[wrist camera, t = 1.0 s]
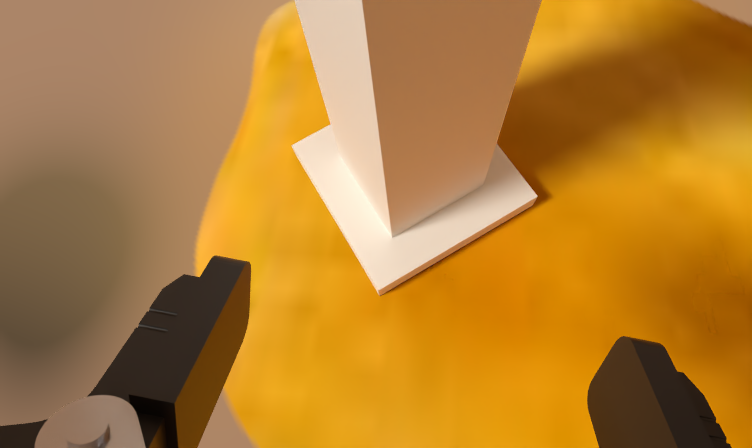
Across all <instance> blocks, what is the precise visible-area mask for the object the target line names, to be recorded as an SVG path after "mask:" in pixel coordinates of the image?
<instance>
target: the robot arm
mask: <svg viewBox="0 0 752 448" xmlns="http://www.w3.org/2000/svg"><path fill="white" fill-rule="evenodd" d="M250 281H251V264H250V262H247V261H242V260H237V259H231V258H226V257H221V256H213V257H212V258H211V260H210V261H209V263H208V265H207V266H206V268H205V270H204V271H203V273H202V275H201V276H200V277H195V276H190V275H185V274H184V275H183V276H181V277H179V278H178V279H176V280H175V281H173V282H172V283H170V284H169V285H168V286H166V287H165V288H163V289H162V291H161V292H160V294H159V295H158V297H157V298H156V300H155V301H154V302H153V304H152V305H151V307H150V310H149V312H146V314H145V315H144V317H143V318H142V320H141V321H140V323H139V326H138V328H136V329H135V330H134V332H133V333H132V334H131V336H130V337H129V339H128V340H127V342H126V343H125V345H124V346H123V348H122V349H121V350H120V352H119V353H118V355H117V356H116V358H115V359H114V361H113V362H112V364H111V365H110V367H109V368H108V369H107V371H106V372H105V374H104V375H103V377H102V378H101V380H100V381H99V383H98V384H97V386H96V387H95V388H94V389H93V391H92V392H91V393H90V394H89V395H88V396H87V397H85V398H81V399H79V400H76V401H73V402H71V403H69V404H67V405H65V406H64V407H63V408H61V409H59V410H58V411H57V412H56V413H54V414H53V415H52V416H51V417H50V418H49V419H47V420H43V421H39V422H34V423H26V424H17V425H7V426H0V448H197V447H198V445H199V442H200V440H201V438H202V435H203V433H204V430H205V428H206V426H207V423H208V421H209V419H210V416H211V414H212V412H213V410H214V407H215V405H216V403H217V400H218V398H219V396H220V393H221V391H222V389H223V386H224V384H225V382H226V379H227V377H228V375H229V372H230V370H231V368H232V365H233V363H234V361H235V358H236V356H237V354H238V351H239V349H240V347H241V344H242V342H243V339H244V336H245V333H246V329H247V325H248V319H249V307H250ZM587 402H588V410H589V414H590V417H591V421H592V424H593V427H594V431H595V434H596V438H597V441H598V445H599V448H731V446H730V444H728V443H726V439H727V438H726V436H725V434H724V433H723V431H722V429H721V427H720V425H719V424H718V423H716V417H715V416H714V414H713V412H712V410H711V408H710V406H709V404H708V402H707V400H706V399H705V397H704V395H703V394H702V393H701V392H700V391H699V389H698V388H697V387H696V386H695V385H694V384H693V383H692V382H691V381H690V380H689V379H688V377H687V376H686V375H685V374H684V373H682V372H677V371H676V369H675V367H674V365H673V363H672V361H671V359H670V357H669V355H668V353H667V351H666V349H665V347H664V346H663V345H661V344H660V343H656V342H651V341H646V340H641V339H636V338H631V337H625V336H623V337H620V338H619V339H618V340H617V341H616V342H615V344H614V345H613V347H612V349H611V350H610V352H609V353H608V355H607V357H606V358H605V360H604V361H603V363H602V365H601V366H600V368H599V370H598V371H597V373H596V374H595V376H594V378H593V379H592V381H591V383H590V386H589V390H588V398H587Z"/></svg>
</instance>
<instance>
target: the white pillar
mask: <svg viewBox="0 0 752 448" xmlns="http://www.w3.org/2000/svg"><path fill="white" fill-rule="evenodd" d="M295 4H296V7H297V10H298V14H299V17H300V21H301V24H302V28H303V31H304V34H305V38H306V41H307V45H308V48H309V51H310V55H311V58H312V62H313V65H314V69H315V72H316V75H317V79H318V82H319V86H320V89H321V92H322V96H323V99H324V103H325V106H326V110H327V113H328V116H329V120H330V123H331V124H330V125H329V126H327V127H325V128H323V129H321V130H319V131H317V132H316V133H314V134H312V135H310V136H308V137H306V138H305V139H303V140H301V141H299V142H297V143H295V144H293V145H292V147H293V150H294V152H295V154H296V156H297V158H298V159H299V161H300V163H301V164H302V166H303V168H304V169H305V171H306V173H307V174H308V176H309V178H310V180H311V181H312V183H313V185H314V186H315V188H316V190H317V191H318V193H319V195H320V196H321V198H322V200H323V201H324V203H325V205H326V206H327V208H328V210H329V211H330V213H331V215H332V216H333V218H334V220H335V221H336V223H337V225H338V227H339V228H340V230H341V232H342V233H343V235H344V237H345V238H346V240H347V242H348V243H349V245H350V247H351V248H352V250H353V252H354V253H355V255H356V257H357V258H358V260H359V262H360V263H361V265H362V267H363V269H364V270H365V272H366V274H367V275H368V277H369V279H370V280H371V282H372V284H373V285H374V287H375V289H376V290H377V292H378V294H379V295H380V296H381V295H382V294H384V293H386V292H387V291H389V290H391V289H392V288H394V287H396V286H397V285H399V284H401V283H402V282H404V281H406V280H408V279H409V278H411V277H413V276H414V275H416V274H418V273H419V272H421V271H423V270H424V269H426V268H428V267H430V266H431V265H433V264H435V263H436V262H438V261H440V260H441V259H443V258H445V257H446V256H448V255H450V254H451V253H453V252H455V251H457V250H458V249H460V248H462V247H463V246H465V245H467V244H468V243H470V242H472V241H473V240H475V239H477V238H478V237H480V236H482V235H484V234H485V233H487V232H489V231H490V230H492V229H494V228H495V227H497V226H499V225H500V224H502V223H504V222H506V221H507V220H509V219H511V218H512V217H514V216H516V215H517V214H519V213H521V212H522V211H524V210H526V209H527V208H529V207H531V206H532V205H533V204H534V202H535V200H536V199H537V197H538V196H537V195H536V193H535V192H534V191H533V190H532V188H531V187H530V186H529V184H528V183H527V182H526V181H525V179H524V178H523V177H522V175H521V174H520V173H519V171H518V170H517V169H516V168H515V166H514V165H513V164H512V162H511V161H510V160H509V158H508V157H507V156H506V155H505V153H504V152H503V151H502V149H501V148H500V147H499V146H498V144H497V140H498V137H499V134H500V131H501V128H502V124H503V121H504V118H505V115H506V112H507V109H508V105H509V102H510V99H511V96H512V93H513V89H514V86H515V83H516V80H517V77H518V74H519V70H520V67H521V64H522V61H523V58H524V54H525V51H526V48H527V45H528V42H529V39H530V35H531V32H532V29H533V26H534V23H535V19H536V16H537V13H538V10H539V7H540V4H541V0H295Z"/></svg>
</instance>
